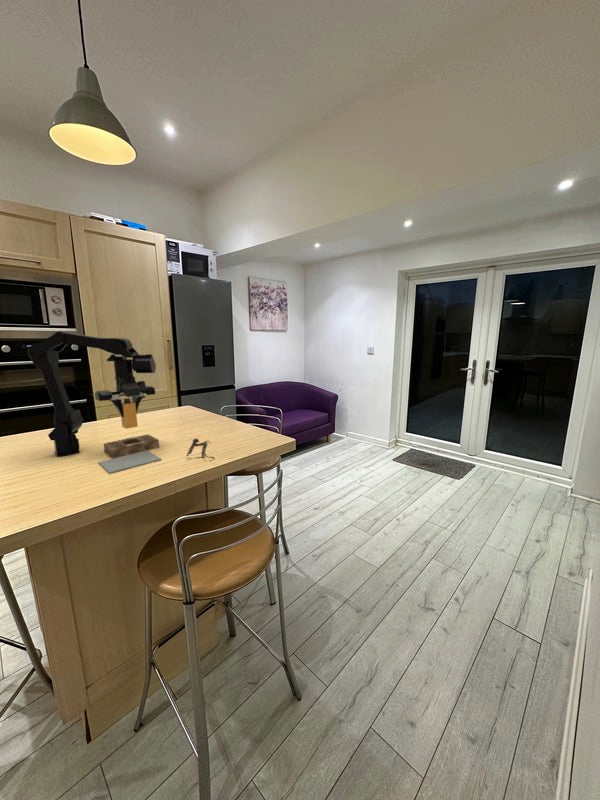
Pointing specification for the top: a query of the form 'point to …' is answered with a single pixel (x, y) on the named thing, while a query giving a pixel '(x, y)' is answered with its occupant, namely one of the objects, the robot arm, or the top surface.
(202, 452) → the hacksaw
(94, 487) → the top surface
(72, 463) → the top surface
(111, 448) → the socket block
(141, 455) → the mat
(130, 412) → the plug
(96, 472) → the top surface
